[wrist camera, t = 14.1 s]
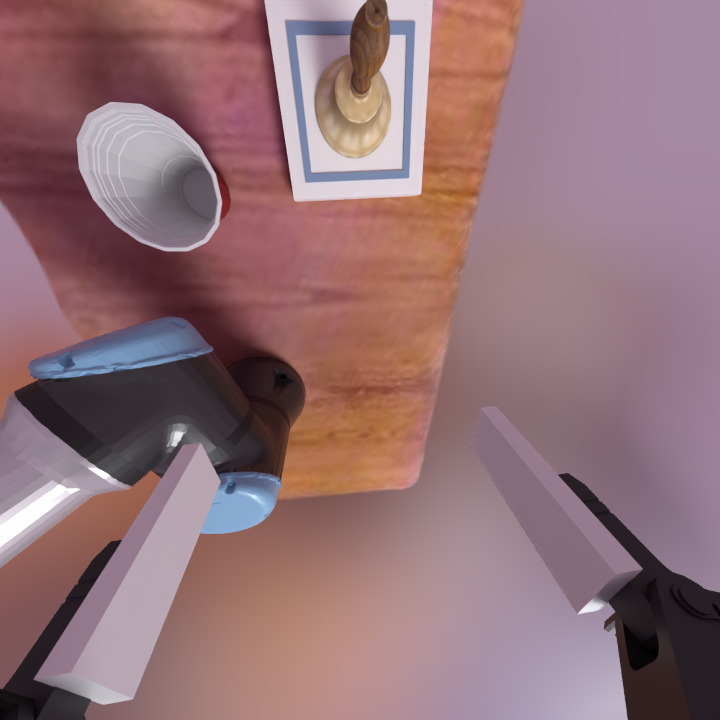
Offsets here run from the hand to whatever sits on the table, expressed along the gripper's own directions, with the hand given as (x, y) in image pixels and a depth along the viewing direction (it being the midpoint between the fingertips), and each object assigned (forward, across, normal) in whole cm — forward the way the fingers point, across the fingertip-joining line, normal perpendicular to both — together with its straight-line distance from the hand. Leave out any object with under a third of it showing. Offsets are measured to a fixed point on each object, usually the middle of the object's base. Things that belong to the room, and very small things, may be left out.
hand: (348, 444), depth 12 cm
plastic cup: (+32, +15, -13) cm, 37 cm away
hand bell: (+29, -4, -20) cm, 35 cm away
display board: (+32, -4, -20) cm, 38 cm away
